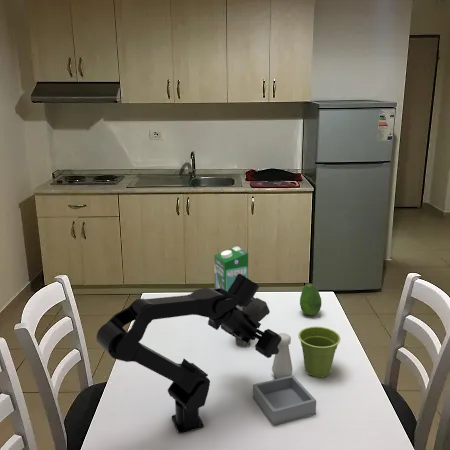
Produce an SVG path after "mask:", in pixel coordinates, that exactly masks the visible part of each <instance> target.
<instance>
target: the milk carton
mask: <svg viewBox="0 0 450 450" xmlns="http://www.w3.org/2000/svg"><path fill="white" fill-rule="evenodd" d="M213 260H214V264H213V265H214V289H217V288H222V289H224V290H226V291H228V290H229V288H230V287H231V285H232V284H233V282H234V281H235V278H236V276H237V275H238V274H241V275H244V276H245V277H246V278H248V279H249V252H247V251H246V250H244V249H243V248H242V247H239V246H238V245H236V246H233V247H231V248H228V249H226V250H223V251H221V252H218V253H216V254H214V259H213Z"/></svg>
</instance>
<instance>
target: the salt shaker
mask: <svg viewBox="0 0 450 450" xmlns="http://www.w3.org/2000/svg"><path fill="white" fill-rule="evenodd" d="M277 334H278V335H280V336H281V338H282V340H281V342H280V343H279V345H278V346H277V347H278V349H279V352H278V354H274V356H273V357H274V359H273V363H272V368H271V371H272V373H273V376H274V377H275V379H279V378H283V377H287V376H291V375H292V374H293V373H292V372H293V365H292V359H291V357H292V356H291V352H290V346H289V345H291V340H292V338H291V336H290V334H288V333H287V332H280V333H277Z"/></svg>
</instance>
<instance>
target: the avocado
mask: <svg viewBox="0 0 450 450" xmlns="http://www.w3.org/2000/svg"><path fill="white" fill-rule="evenodd" d="M299 307H300V309H301V312H302V313H303V314H305V315H306V316H315V315H317V314H318V313H319V312H320V311H321V309H322V297H321V294H320V292H319V289H318V288H317V286H316V285H315V284H313V283H306V284H305V285H304V286H303V288H302V290H301V293H300V297H299Z"/></svg>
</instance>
